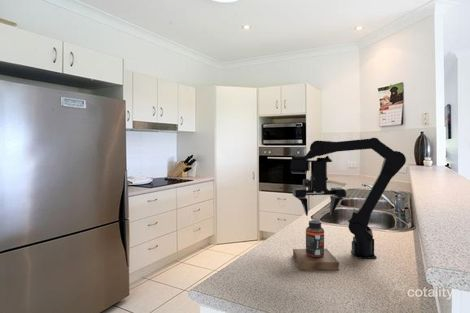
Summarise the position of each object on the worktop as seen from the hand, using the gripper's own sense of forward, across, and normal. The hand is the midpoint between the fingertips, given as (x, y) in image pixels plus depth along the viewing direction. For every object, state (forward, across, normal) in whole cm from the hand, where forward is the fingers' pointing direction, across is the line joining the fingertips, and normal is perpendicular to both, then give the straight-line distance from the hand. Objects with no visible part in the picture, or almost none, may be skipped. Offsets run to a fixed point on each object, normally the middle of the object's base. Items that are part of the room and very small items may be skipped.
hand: (318, 215), depth 106 cm
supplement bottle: (+11, +5, +12) cm, 17 cm away
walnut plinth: (+13, +5, +12) cm, 18 cm away
